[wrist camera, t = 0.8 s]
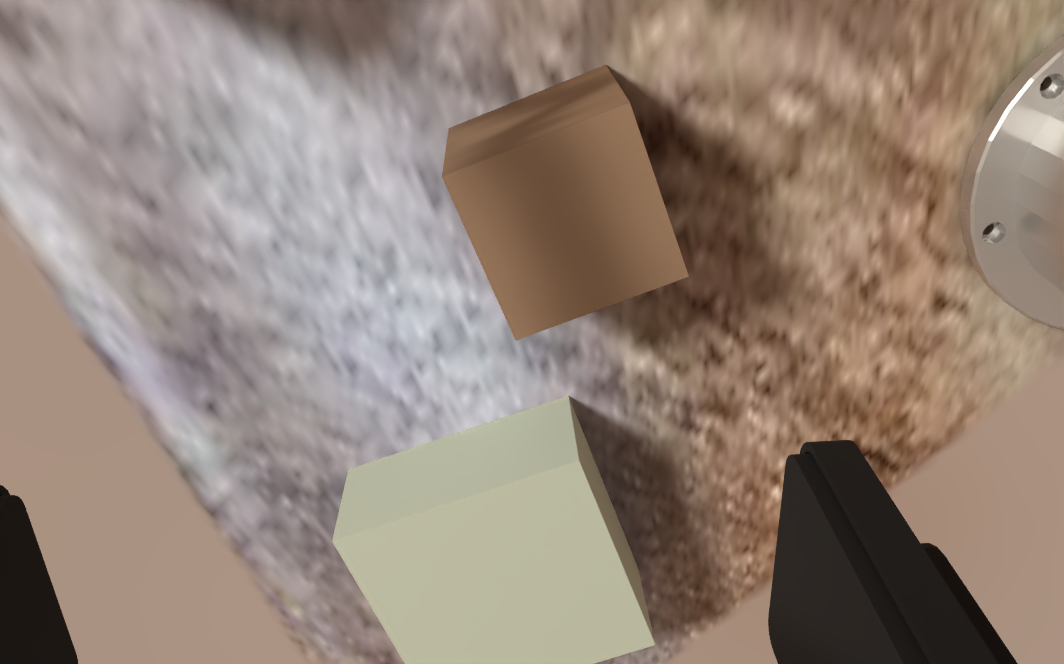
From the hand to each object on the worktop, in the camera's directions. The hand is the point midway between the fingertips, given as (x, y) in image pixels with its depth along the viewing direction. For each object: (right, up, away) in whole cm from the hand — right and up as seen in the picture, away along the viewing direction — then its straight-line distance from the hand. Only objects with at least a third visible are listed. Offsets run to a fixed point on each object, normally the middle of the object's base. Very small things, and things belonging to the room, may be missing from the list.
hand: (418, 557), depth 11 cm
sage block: (0, -6, +30) cm, 30 cm away
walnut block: (+2, +9, +22) cm, 24 cm away
